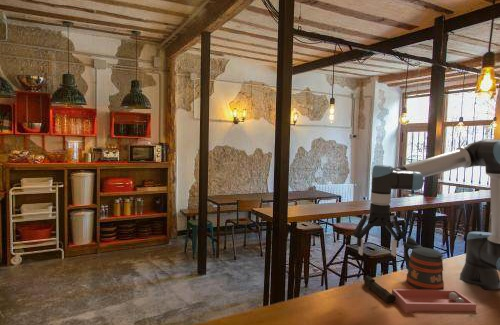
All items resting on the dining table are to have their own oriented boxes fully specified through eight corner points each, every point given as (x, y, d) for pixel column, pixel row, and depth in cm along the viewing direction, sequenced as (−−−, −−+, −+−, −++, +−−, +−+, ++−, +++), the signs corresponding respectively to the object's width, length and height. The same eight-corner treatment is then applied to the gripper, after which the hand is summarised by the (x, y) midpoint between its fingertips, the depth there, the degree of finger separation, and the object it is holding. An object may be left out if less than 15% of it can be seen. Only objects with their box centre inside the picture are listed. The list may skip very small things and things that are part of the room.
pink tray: (455, 298, 136) (455, 289, 135) (475, 313, 124) (476, 304, 123) (391, 297, 135) (391, 289, 135) (405, 312, 123) (406, 303, 123)
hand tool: (396, 304, 130) (396, 292, 129) (386, 305, 129) (387, 293, 129) (370, 283, 148) (370, 273, 148) (361, 284, 148) (362, 273, 147)
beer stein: (389, 280, 151) (392, 237, 150) (412, 275, 157) (415, 234, 156) (427, 299, 134) (430, 250, 133) (451, 293, 140) (454, 246, 139)
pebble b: (460, 303, 129) (461, 296, 129) (466, 307, 126) (466, 299, 126) (453, 303, 129) (453, 296, 129) (458, 307, 126) (458, 299, 126)
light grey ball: (454, 298, 133) (455, 290, 133) (459, 302, 130) (460, 294, 130) (446, 298, 133) (447, 290, 133) (451, 302, 130) (452, 294, 130)
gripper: (406, 202, 140) (402, 252, 141) (346, 200, 139) (343, 250, 141) (415, 206, 132) (411, 258, 134) (352, 204, 132) (349, 257, 133)
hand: (377, 254), depth 137 cm, fingers open, 13 cm apart
